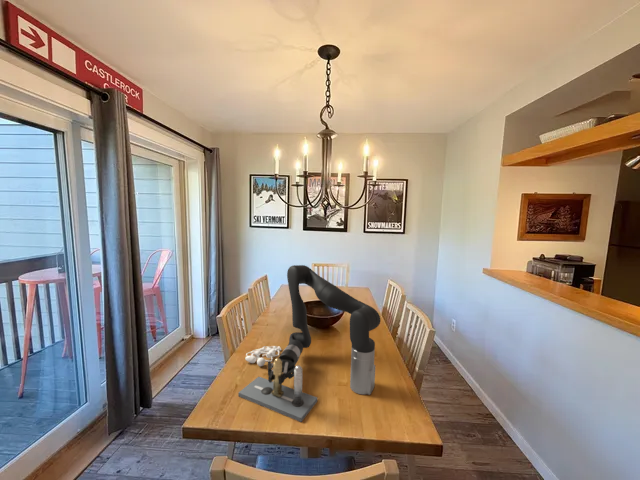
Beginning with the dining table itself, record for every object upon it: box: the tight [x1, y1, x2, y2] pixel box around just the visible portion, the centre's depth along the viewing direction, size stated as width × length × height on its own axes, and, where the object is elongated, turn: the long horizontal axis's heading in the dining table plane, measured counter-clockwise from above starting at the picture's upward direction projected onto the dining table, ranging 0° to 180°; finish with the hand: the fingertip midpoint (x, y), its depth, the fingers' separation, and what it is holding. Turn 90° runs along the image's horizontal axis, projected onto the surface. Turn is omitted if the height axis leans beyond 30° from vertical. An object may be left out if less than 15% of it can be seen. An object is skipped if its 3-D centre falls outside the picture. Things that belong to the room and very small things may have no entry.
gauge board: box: [237, 376, 319, 423], centre depth 108 cm, size 28×12×2 cm, turn 63°
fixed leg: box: [293, 365, 303, 405], centre depth 103 cm, size 3×3×14 cm
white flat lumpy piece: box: [244, 345, 282, 367], centre depth 138 cm, size 19×14×4 cm
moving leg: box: [271, 357, 284, 397], centre depth 107 cm, size 4×3×14 cm
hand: (275, 380), depth 104 cm, fingers closed on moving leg, 3 cm apart
